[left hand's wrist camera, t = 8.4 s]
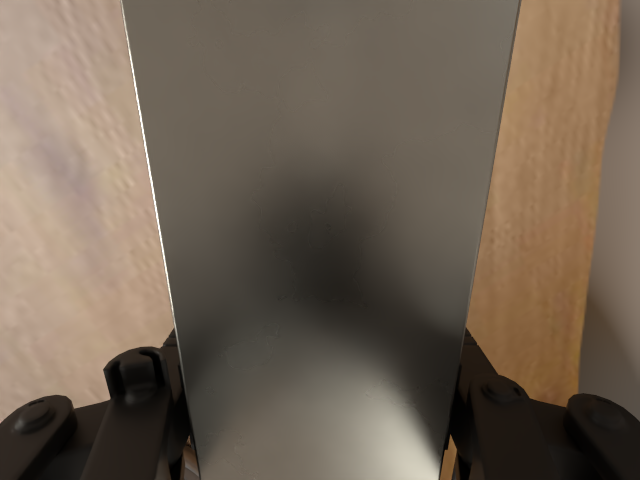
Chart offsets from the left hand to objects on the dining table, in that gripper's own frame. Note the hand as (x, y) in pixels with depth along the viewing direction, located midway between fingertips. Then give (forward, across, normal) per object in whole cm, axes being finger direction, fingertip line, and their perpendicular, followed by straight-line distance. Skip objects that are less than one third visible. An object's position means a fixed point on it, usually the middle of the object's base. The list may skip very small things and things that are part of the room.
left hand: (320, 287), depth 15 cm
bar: (+1, 0, -10) cm, 10 cm away
